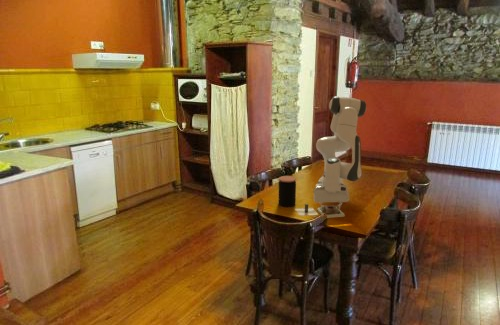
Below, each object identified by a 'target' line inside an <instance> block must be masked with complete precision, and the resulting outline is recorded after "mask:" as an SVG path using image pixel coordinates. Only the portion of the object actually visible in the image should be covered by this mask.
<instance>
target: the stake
mask: <svg viewBox="0 0 500 325" xmlns="http://www.w3.org/2000/svg"><path fill="white" fill-rule="evenodd" d="M294 210H295V211H296V213H297V214H298V215H299V217H305V216H306V217H307V216H317V215H319V214H320V213H319V212H318V211H317V210H315V209H314V207H309V204H308V203H304V207H301V208H300V207H299V208H294Z"/></svg>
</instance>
